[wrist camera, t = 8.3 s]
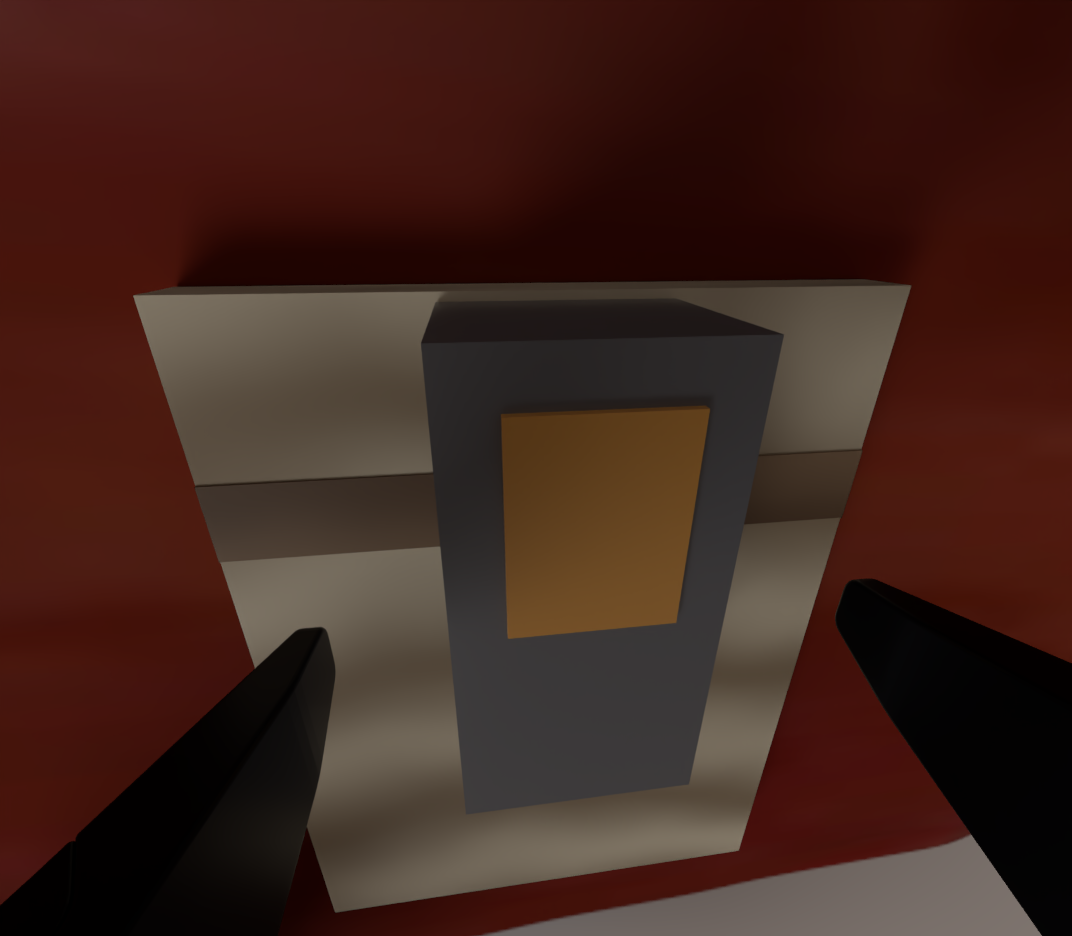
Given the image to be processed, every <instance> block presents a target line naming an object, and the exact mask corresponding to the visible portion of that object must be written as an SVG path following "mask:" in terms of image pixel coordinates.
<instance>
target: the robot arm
mask: <svg viewBox="0 0 1072 936" xmlns="http://www.w3.org/2000/svg"><path fill="white" fill-rule="evenodd" d="M835 621H836V626H837V629H838V631H839V632H840V634H841V636H842V638H843V639H844V641H845V643H846V644H847V646H848V648H849V650H850V651H851V653H852V655H853V657H854V658H855V660H856V662H857V664H858V665H859V667H860V669H861V671H862V672H863V674H864V676H865V677H866V679H867V681H868V683H869V684H870V686H871V688H872V690H873V691H874V693H875V695H876V697H877V698H878V700H879V701H880V703H881V705H882V706H883V708H884V710H885V711H886V713H887V714H888V716H889V717H890V719H891V720H892V722H893V723H894V725H895V726H896V727H897V729H898V730H899V732H900V733H901V735H902V736H903V737H904V739H905V740H906V742H907V743H908V745H909V746H910V747H911V749H912V750H913V752H914V753H915V755H916V756H917V757H918V759H919V760H920V762H921V763H922V765H923V766H924V767H925V769H926V770H927V772H928V773H929V775H930V776H931V778H932V779H933V780H934V782H935V783H936V785H937V786H938V788H939V789H940V790H941V792H942V793H943V795H944V796H945V798H946V799H947V800H948V802H949V803H950V805H951V806H952V808H953V809H954V810H955V812H956V813H957V815H958V816H959V818H960V819H961V820H962V822H963V823H964V825H965V826H966V828H967V829H968V831H969V832H970V833H971V835H972V836H973V838H974V839H975V841H976V842H977V843H978V845H979V846H980V847H981V849H982V851H983V852H984V853H985V855H986V856H987V858H988V859H989V861H990V862H991V863H992V865H993V866H994V868H995V869H996V871H997V872H998V873H999V875H1000V876H1001V878H1002V879H1003V881H1004V882H1005V883H1006V885H1007V886H1008V888H1009V889H1010V891H1011V892H1012V894H1013V895H1014V896H1015V898H1016V899H1017V901H1018V902H1019V904H1020V905H1021V906H1022V908H1023V909H1024V911H1025V912H1026V913H1027V915H1028V916H1029V918H1030V919H1031V921H1032V922H1033V923H1034V925H1035V926H1036V928H1037V929H1038V931H1039V932H1040V934H1041V935H1042V936H1072V663H1070V662H1067V661H1065V660H1063V659H1060V658H1058V657H1056V656H1053V655H1051V654H1049V653H1046V652H1044V651H1042V650H1039V649H1037V648H1035V647H1032V646H1030V645H1028V644H1025V643H1023V642H1021V641H1018V640H1016V639H1014V638H1011V637H1009V636H1007V635H1004V634H1002V633H1000V632H997V631H995V630H993V629H990V628H988V627H985V626H983V625H981V624H978V623H976V622H974V621H971V620H969V619H967V618H964V617H962V616H960V615H957V614H955V613H953V612H950V611H948V610H946V609H943V608H941V607H939V606H936V605H934V604H932V603H929V602H927V601H925V600H922V599H920V598H918V597H915V596H913V595H911V594H908V593H906V592H904V591H901V590H899V589H897V588H894V587H892V586H890V585H887V584H885V583H883V582H880V581H878V580H875V579H857V580H851V581H849V582H848V583H847V584H846V585H845V587H844V590H843V593H842V596H841V599H840V602H839V605H838V608H837V611H836V615H835ZM335 675H336V669H335V662H334V657H333V653H332V649H331V644H330V640H329V636H328V632H327V631H326V629H325V628H323V627H312V628H301V629H298V630H296V631H295V632H294V633H292V634H291V635H290V636H289V637H288V638H287V639H286V640H285V641H284V642H283V643H282V644H281V645H280V646H279V647H277V648H276V649H275V650H274V651H273V652H272V653H271V654H270V655H269V656H268V657H267V658H266V659H265V660H264V661H262V662H261V663H260V664H259V665H258V666H257V667H256V668H255V669H254V670H253V671H252V672H251V673H250V674H249V675H247V676H246V677H245V678H244V679H243V680H242V681H241V682H240V683H239V684H238V685H237V686H236V687H235V688H234V689H233V690H231V691H230V692H229V693H228V694H227V695H226V696H225V697H224V698H223V699H222V700H221V701H220V702H219V703H218V704H216V705H215V706H214V707H213V708H212V709H211V710H210V711H209V712H208V713H207V714H206V715H205V716H204V717H203V718H201V719H200V720H199V721H198V722H197V723H196V724H195V725H194V726H193V727H192V728H191V729H190V730H189V731H188V732H186V733H185V734H184V735H183V736H182V737H181V738H180V739H179V740H178V741H177V742H176V743H175V744H174V745H173V746H172V747H170V748H169V749H168V750H167V751H166V752H165V753H164V754H163V755H162V756H161V757H160V758H159V759H158V760H157V761H155V762H154V763H153V764H152V765H151V766H150V767H149V768H148V769H147V770H146V771H145V772H144V773H143V774H142V775H140V776H139V777H138V778H137V779H136V780H135V781H134V782H133V783H132V784H131V785H130V786H129V787H128V788H127V789H125V790H124V791H123V792H122V793H121V794H120V795H119V796H118V797H117V798H116V799H115V800H114V801H113V802H112V803H110V804H109V805H108V806H107V807H106V808H105V809H104V810H103V811H102V812H101V813H100V814H99V815H98V816H97V817H96V818H94V819H93V820H92V821H91V822H90V823H89V824H88V825H87V826H86V827H85V828H84V829H83V830H82V831H81V832H79V833H78V835H77V836H76V841H71V842H69V843H67V844H66V845H65V846H64V847H63V848H62V849H61V850H60V851H59V852H58V853H57V854H56V855H55V856H53V857H52V858H51V859H50V860H49V861H48V862H47V863H46V864H45V865H44V866H43V867H42V868H41V869H40V870H38V871H37V872H36V873H35V874H34V875H33V876H32V877H31V878H30V879H29V880H28V881H26V882H25V883H24V884H23V885H22V886H21V887H20V888H19V889H18V890H17V891H15V892H14V893H13V894H12V895H11V896H10V897H9V898H8V899H7V900H6V901H4V902H3V903H2V904H1V905H0V936H277V935H278V931H279V928H280V924H281V920H282V917H283V913H284V909H285V905H286V902H287V898H288V894H289V891H290V887H291V883H292V879H293V876H294V872H295V868H296V865H297V861H298V857H299V853H300V850H301V846H302V842H303V839H304V835H305V831H306V827H307V824H308V820H309V816H310V813H311V809H312V805H313V801H314V798H315V794H316V790H317V786H318V781H319V777H320V772H321V766H322V760H323V754H324V748H325V741H326V735H327V729H328V722H329V716H330V709H331V703H332V697H333V690H334V684H335Z"/></svg>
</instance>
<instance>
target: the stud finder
mask: <svg viewBox="0 0 1072 936" xmlns="http://www.w3.org/2000/svg"><path fill="white" fill-rule="evenodd" d="M783 338H784V334H781V333H778V332H775V331H772V330H769V329H766V328H763V327H760V326H757V325H754V324H751V323H748V322H745V321H742V320H739V319H736V318H733V317H730V316H727V315H724V314H721V313H718V312H715V311H712V310H709V309H706V308H703V307H700V306H697V305H694V304H692V303H689V302H686V301H683V300H680V299H677V298H661V299H595V300H530V301H464V302H435V305H434V308H433V310H432V313H431V316H430V319H429V322H428V325H427V327H426V330H425V333H424V336H423V339H422V341H421V352H422V362H423V373H424V383H425V393H426V404H427V414H428V425H429V435H430V445H431V456H432V466H433V477H434V487H435V498H436V508H437V518H438V529H439V539H440V550H441V560H442V570H443V581H444V591H445V602H446V612H447V622H448V633H449V643H450V654H451V664H452V675H453V685H454V695H455V706H456V716H457V727H458V737H459V747H460V758H461V768H462V779H463V789H464V800H465V810H466V815H467V814H474V813H482V812H489V811H496V810H504V809H511V808H519V807H526V806H533V805H541V804H548V803H555V802H563V801H570V800H578V799H585V798H592V797H600V796H607V795H615V794H622V793H629V792H637V791H644V790H651V789H659V788H666V787H674V786H681V785H688V784H689V782H690V777H691V773H692V768H693V763H694V758H695V754H696V749H697V744H698V740H699V735H700V730H701V725H702V721H703V716H704V711H705V706H706V702H707V697H708V692H709V688H710V683H711V678H712V673H713V669H714V664H715V659H716V654H717V650H718V645H719V640H720V636H721V631H722V626H723V621H724V617H725V612H726V607H727V602H728V598H729V593H730V588H731V583H732V579H733V574H734V569H735V565H736V560H737V555H738V550H739V546H740V541H741V536H742V531H743V527H744V522H745V517H746V513H747V508H748V503H749V498H750V494H751V489H752V484H753V479H754V475H755V470H756V465H757V460H758V456H759V451H760V446H761V442H762V437H763V432H764V427H765V423H766V418H767V413H768V408H769V404H770V399H771V394H772V390H773V385H774V380H775V375H776V371H777V366H778V361H779V356H780V352H781V347H782V342H783Z"/></svg>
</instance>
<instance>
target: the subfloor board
mask: <svg viewBox="0 0 1072 936" xmlns="http://www.w3.org/2000/svg"><path fill="white" fill-rule="evenodd" d="M910 288H911V285H904V284H896V283H889V282H881V281H873V280H866V279H839V280H749V281H659V282H569V283H480V284H390V285H300V286H210V287H172V288H167V289H162V290H157V291H152V292H148V293H143V294H138V295H133V297H134V300H135V303H136V306H137V309H138V312H139V315H140V318H141V321H142V324H143V327H144V330H145V333H146V336H147V339H148V342H149V345H150V349H151V352H152V355H153V358H154V361H155V364H156V367H157V370H158V373H159V376H160V379H161V382H162V385H163V388H164V391H165V394H166V397H167V400H168V404H169V407H170V410H171V413H172V416H173V419H174V422H175V425H176V428H177V431H178V434H179V437H180V440H181V443H182V446H183V449H184V452H185V455H186V459H187V462H188V465H189V468H190V471H191V474H192V477H193V480H194V483H195V486H196V487H195V490H196V493H197V496H198V499H199V503H200V506H201V509H202V512H203V515H204V518H205V521H206V524H207V527H208V530H209V533H210V536H211V539H212V542H213V545H214V548H215V551H216V554H217V557H218V560H219V562H221V565H222V569H223V572H224V575H225V578H226V581H227V584H228V587H229V590H230V593H231V596H232V599H233V602H234V605H235V608H236V611H237V614H238V617H239V620H240V624H241V627H242V630H243V633H244V636H245V639H246V642H247V645H248V648H249V651H250V654H251V657H252V660H253V663H254V666H255V668H256V667H257V666H258V665H259V664H260V663H261V662H262V661H264V660H265V659H266V658H267V657H268V656H269V655H270V654H271V653H272V652H273V651H274V650H275V649H276V648H277V647H279V646H280V645H281V644H282V643H283V642H284V641H285V640H286V639H287V638H288V637H289V636H290V635H291V634H292V633H294V632H295V631H296V630H298V629H301V628H312V627H323V628H325V629H326V631H327V632H328V636H329V640H330V644H331V649H332V653H333V657H334V662H335V669H336V675H335V684H334V690H333V697H332V703H331V709H330V716H329V722H328V729H327V735H326V741H325V748H324V754H323V760H322V766H321V772H320V777H319V781H318V786H317V790H316V794H315V798H314V801H313V805H312V809H311V813H310V816H309V820H308V824H307V828H308V831H309V834H310V837H311V840H312V844H313V847H314V850H315V853H316V856H317V859H318V862H319V865H320V868H321V871H322V874H323V877H324V880H325V883H326V886H327V889H328V892H329V895H330V899H331V902H332V905H333V908H334V911H335V913H336V912H342V911H349V910H355V909H362V908H368V907H375V906H381V905H388V904H394V903H401V902H407V901H414V900H420V899H427V898H433V897H440V896H446V895H453V894H459V893H466V892H472V891H479V890H485V889H492V888H498V887H505V886H511V885H518V884H524V883H531V882H537V881H544V880H550V879H557V878H563V877H570V876H576V875H583V874H589V873H596V872H602V871H609V870H615V869H622V868H628V867H635V866H641V865H648V864H654V863H661V862H667V861H674V860H680V859H687V858H693V857H700V856H706V855H713V854H719V853H726V852H732V851H738V850H739V847H740V844H741V841H742V837H743V834H744V831H745V827H746V824H747V821H748V818H749V814H750V811H751V808H752V805H753V801H754V798H755V795H756V792H757V788H758V785H759V782H760V778H761V775H762V772H763V769H764V765H765V762H766V759H767V756H768V752H769V749H770V746H771V743H772V739H773V736H774V733H775V729H776V726H777V723H778V720H779V716H780V713H781V710H782V707H783V703H784V700H785V697H786V693H787V690H788V687H789V684H790V680H791V677H792V674H793V671H794V667H795V664H796V661H797V658H798V654H799V651H800V648H801V644H802V641H803V638H804V635H805V631H806V628H807V625H808V622H809V618H810V615H811V612H812V609H813V605H814V602H815V599H816V595H817V592H818V589H819V586H820V582H821V579H822V576H823V573H824V569H825V566H826V563H827V560H828V556H829V553H830V550H831V546H832V543H833V540H834V537H835V533H836V530H837V527H838V524H839V520H840V518H842V515H843V512H844V509H845V506H846V502H847V499H848V496H849V493H850V489H851V486H852V483H853V480H854V476H855V473H856V470H857V467H858V463H859V460H860V457H861V454H862V450H861V448H862V445H863V442H864V439H865V435H866V432H867V429H868V426H869V422H870V419H871V416H872V412H873V409H874V406H875V403H876V399H877V396H878V393H879V390H880V386H881V383H882V380H883V377H884V373H885V370H886V367H887V363H888V360H889V357H890V354H891V350H892V347H893V344H894V341H895V337H896V334H897V331H898V327H899V324H900V321H901V318H902V314H903V311H904V308H905V305H906V301H907V298H908V295H909V292H910ZM661 298H677V299H680V300H683V301H686V302H689V303H692V304H694V305H697V306H700V307H703V308H706V309H709V310H712V311H715V312H718V313H721V314H724V315H727V316H730V317H733V318H736V319H739V320H742V321H745V322H748V323H751V324H754V325H757V326H760V327H763V328H766V329H769V330H772V331H775V332H778V333H781V334H784V338H783V342H782V347H781V352H780V356H779V361H778V366H777V371H776V375H775V380H774V385H773V390H772V394H771V399H770V404H769V408H768V413H767V418H766V423H765V427H764V432H763V437H762V442H761V446H760V451H759V456H758V460H757V465H756V470H755V475H754V479H753V484H752V489H751V494H750V498H749V503H748V508H747V513H746V517H745V522H744V527H743V531H742V536H741V541H740V546H739V550H738V555H737V560H736V565H735V569H734V574H733V579H732V583H731V588H730V593H729V598H728V602H727V607H726V612H725V617H724V621H723V626H722V631H721V636H720V640H719V645H718V650H717V654H716V659H715V664H714V669H713V673H712V678H711V683H710V688H709V692H708V697H707V702H706V706H705V711H704V716H703V721H702V725H701V730H700V735H699V740H698V744H697V749H696V754H695V758H694V763H693V768H692V773H691V777H690V782H689V784H688V785H681V786H674V787H666V788H659V789H651V790H644V791H637V792H629V793H622V794H615V795H607V796H600V797H592V798H585V799H578V800H570V801H563V802H555V803H548V804H541V805H533V806H526V807H519V808H511V809H504V810H496V811H489V812H482V813H474V814H467V815H466V810H465V800H464V789H463V779H462V768H461V758H460V747H459V737H458V727H457V716H456V706H455V695H454V685H453V675H452V664H451V654H450V643H449V633H448V622H447V612H446V602H445V591H444V581H443V570H442V560H441V550H440V539H439V529H438V518H437V508H436V498H435V487H434V477H433V466H432V456H431V445H430V435H429V425H428V414H427V404H426V393H425V383H424V373H423V362H422V352H421V341H422V339H423V336H424V333H425V330H426V327H427V325H428V322H429V319H430V316H431V313H432V310H433V308H434V305H435V302H464V301H530V300H595V299H661Z"/></svg>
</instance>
